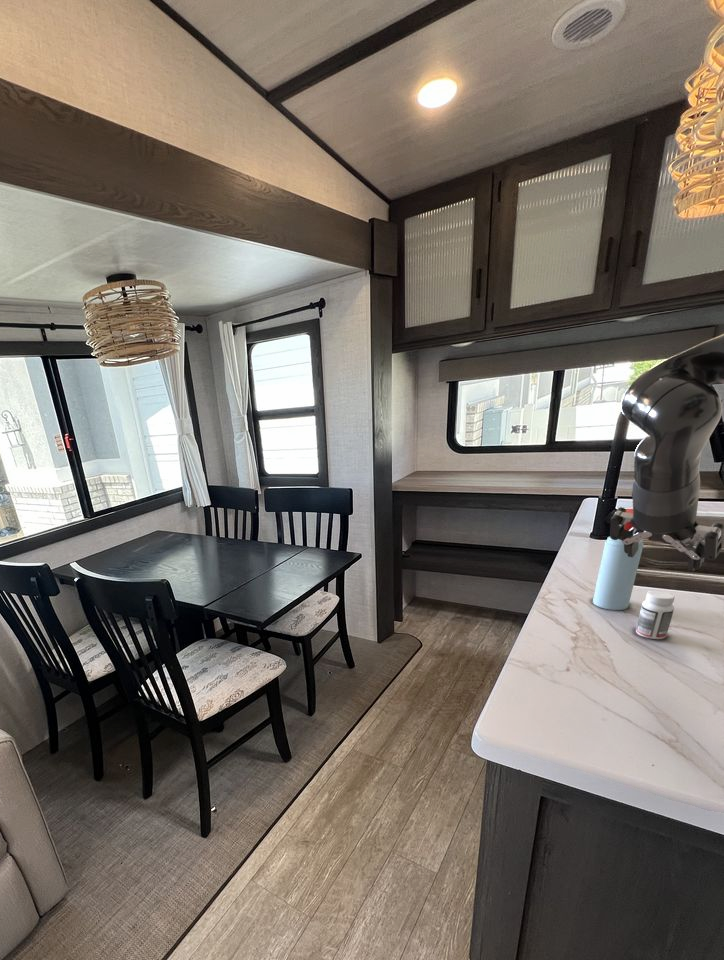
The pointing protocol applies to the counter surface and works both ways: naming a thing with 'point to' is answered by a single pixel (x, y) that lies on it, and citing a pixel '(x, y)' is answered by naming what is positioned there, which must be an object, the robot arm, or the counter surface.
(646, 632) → the pill bottle
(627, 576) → the water bottle
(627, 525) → the cap
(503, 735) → the counter surface
